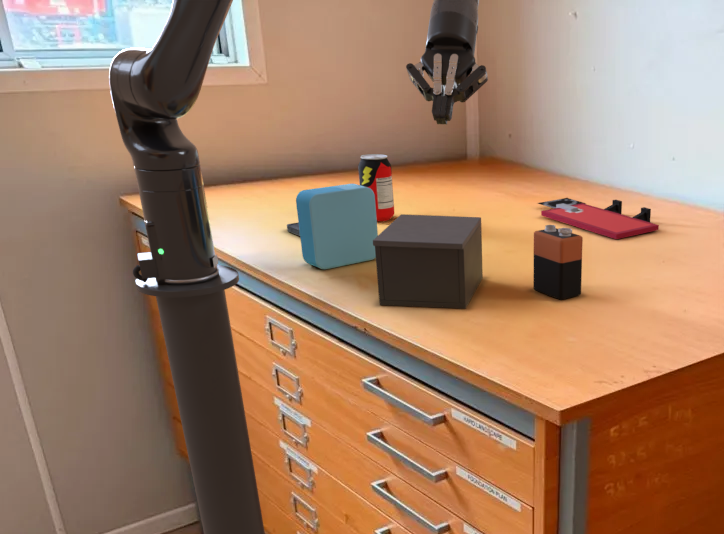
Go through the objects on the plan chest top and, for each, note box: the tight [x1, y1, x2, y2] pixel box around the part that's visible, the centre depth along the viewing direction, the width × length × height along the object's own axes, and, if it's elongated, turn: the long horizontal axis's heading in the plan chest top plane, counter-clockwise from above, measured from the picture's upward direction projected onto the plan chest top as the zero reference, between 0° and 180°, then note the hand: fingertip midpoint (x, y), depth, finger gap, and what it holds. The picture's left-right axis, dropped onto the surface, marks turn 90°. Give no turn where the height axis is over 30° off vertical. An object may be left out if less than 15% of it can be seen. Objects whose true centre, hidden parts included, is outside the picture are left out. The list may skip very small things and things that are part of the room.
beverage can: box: [357, 153, 395, 222], centre depth 171 cm, size 6×6×12 cm
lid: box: [373, 213, 482, 249], centre depth 128 cm, size 16×13×1 cm
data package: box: [295, 183, 379, 270], centre depth 143 cm, size 12×4×12 cm, turn 135°
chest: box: [375, 222, 484, 310], centre depth 131 cm, size 16×13×9 cm
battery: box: [533, 224, 584, 301], centre depth 131 cm, size 4×7×10 cm, turn 41°
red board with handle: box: [537, 197, 660, 240], centre depth 177 cm, size 30×3×15 cm
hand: (441, 120), depth 131 cm, fingers closed
